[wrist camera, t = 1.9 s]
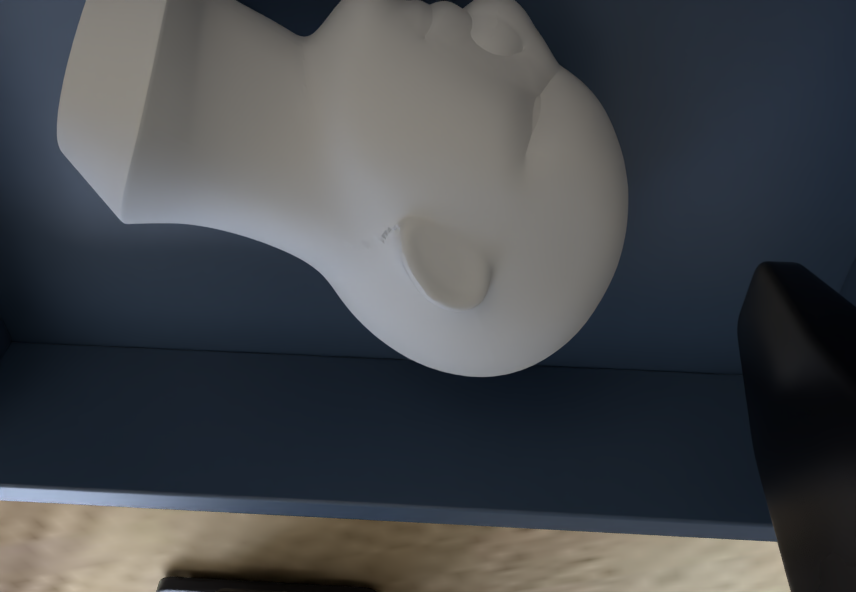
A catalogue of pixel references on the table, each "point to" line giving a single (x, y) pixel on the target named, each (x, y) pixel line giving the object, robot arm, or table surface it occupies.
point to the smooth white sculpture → (366, 160)
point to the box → (395, 373)
